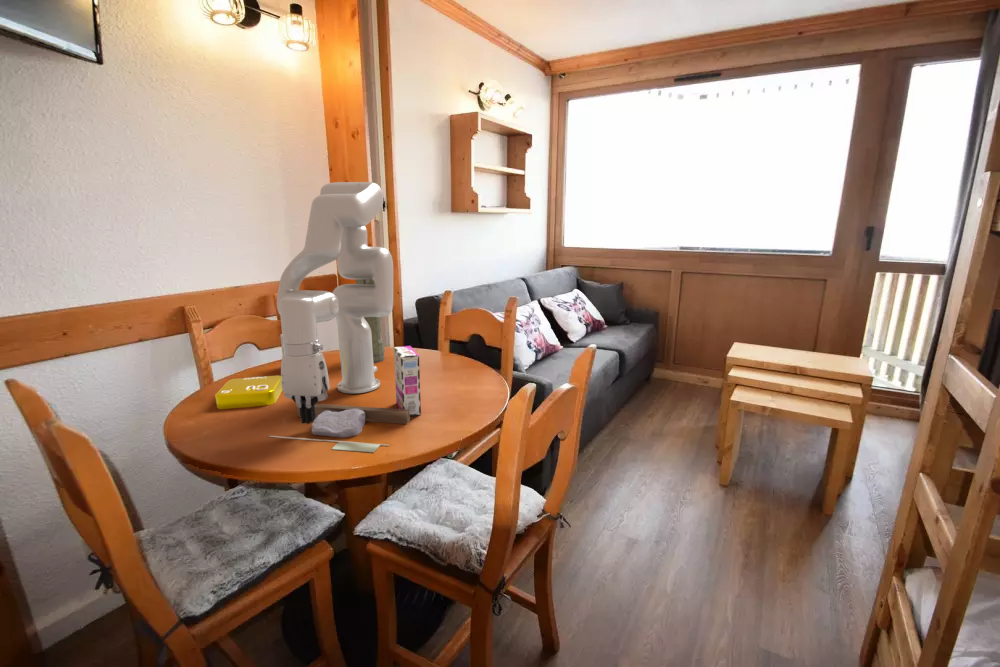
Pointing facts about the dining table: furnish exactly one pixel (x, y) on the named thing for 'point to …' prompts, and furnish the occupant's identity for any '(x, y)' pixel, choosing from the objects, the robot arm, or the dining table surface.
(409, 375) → the candy bar box
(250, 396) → the element tile
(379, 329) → the thermos
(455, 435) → the dining table surface
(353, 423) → the stone block
